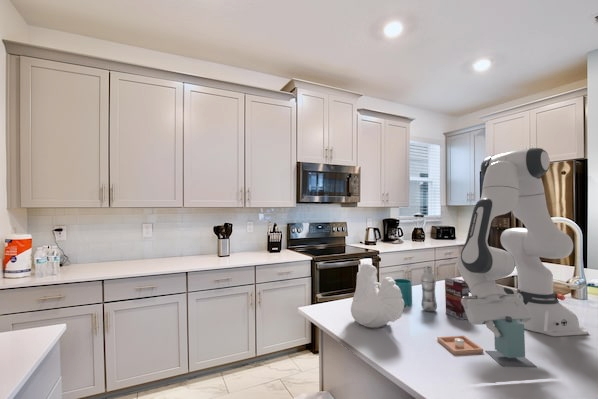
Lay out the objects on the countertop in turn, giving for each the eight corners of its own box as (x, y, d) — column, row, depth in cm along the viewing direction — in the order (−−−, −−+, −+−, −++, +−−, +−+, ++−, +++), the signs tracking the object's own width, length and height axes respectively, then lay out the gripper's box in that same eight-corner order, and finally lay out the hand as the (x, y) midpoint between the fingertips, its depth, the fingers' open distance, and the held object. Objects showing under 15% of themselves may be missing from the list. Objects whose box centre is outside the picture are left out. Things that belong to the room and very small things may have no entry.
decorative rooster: (345, 318, 129) (343, 262, 130) (376, 314, 134) (375, 259, 134) (376, 344, 105) (374, 274, 106) (413, 337, 110) (411, 270, 111)
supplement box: (445, 313, 133) (444, 278, 133) (452, 311, 135) (451, 277, 135) (462, 320, 125) (461, 282, 125) (470, 318, 127) (469, 281, 127)
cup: (384, 302, 149) (384, 280, 149) (404, 299, 153) (403, 278, 153) (395, 308, 141) (395, 284, 141) (416, 305, 144) (415, 282, 145)
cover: (510, 348, 95) (509, 313, 96) (525, 356, 90) (524, 320, 90) (494, 349, 95) (493, 314, 95) (508, 357, 90) (507, 321, 90)
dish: (463, 340, 107) (463, 332, 107) (483, 354, 97) (483, 346, 97) (437, 342, 106) (437, 334, 106) (454, 356, 96) (454, 347, 96)
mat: (517, 353, 97) (517, 351, 97) (537, 369, 88) (536, 366, 88) (485, 353, 98) (485, 350, 98) (501, 368, 89) (501, 365, 89)
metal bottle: (438, 313, 133) (437, 269, 133) (423, 312, 134) (421, 268, 135) (435, 308, 139) (434, 266, 140) (420, 307, 141) (419, 265, 141)
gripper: (462, 292, 99) (484, 333, 89) (519, 289, 101) (546, 330, 91) (454, 301, 103) (474, 342, 93) (509, 298, 105) (534, 338, 95)
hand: (510, 336), depth 92 cm, fingers closed on cover, 5 cm apart
